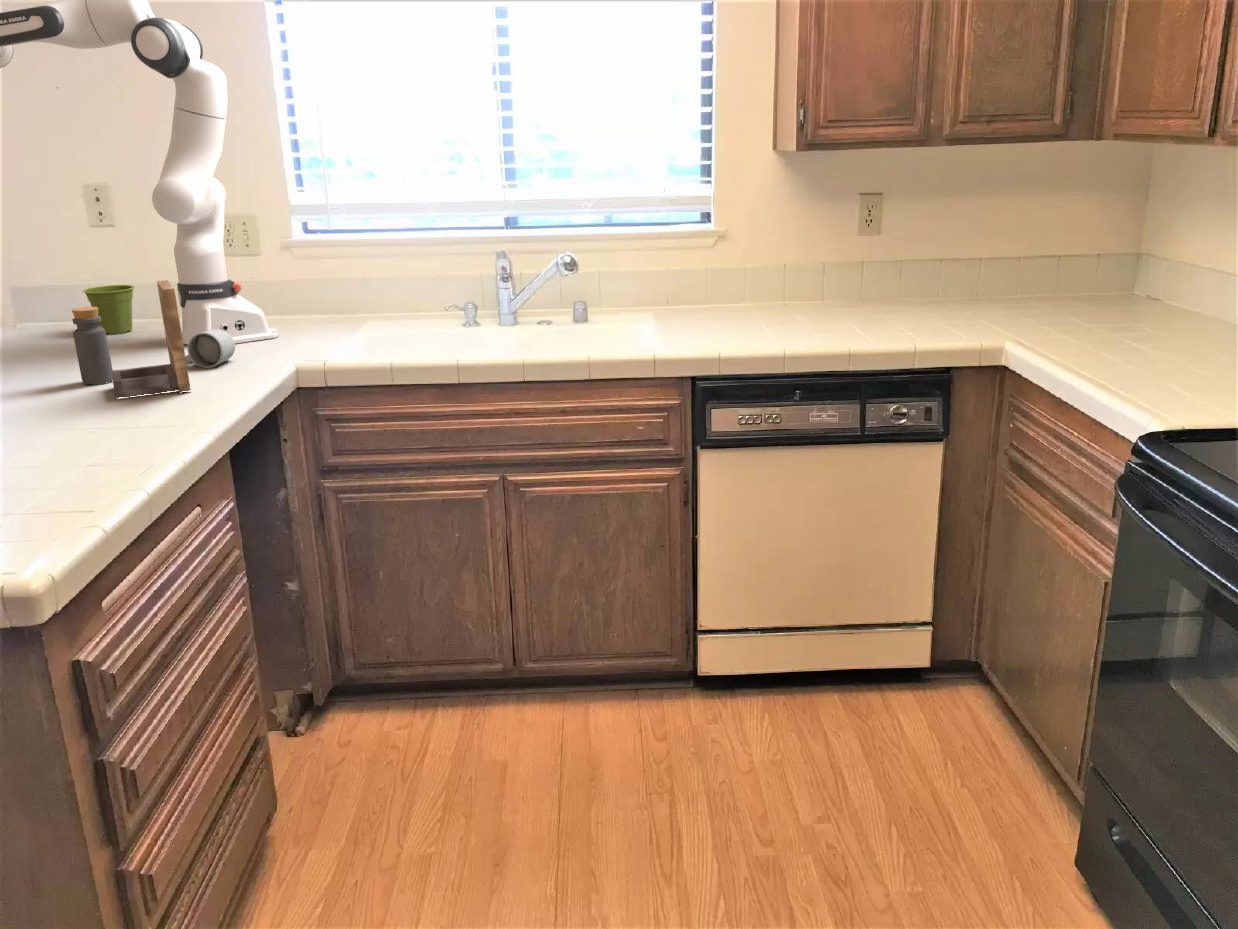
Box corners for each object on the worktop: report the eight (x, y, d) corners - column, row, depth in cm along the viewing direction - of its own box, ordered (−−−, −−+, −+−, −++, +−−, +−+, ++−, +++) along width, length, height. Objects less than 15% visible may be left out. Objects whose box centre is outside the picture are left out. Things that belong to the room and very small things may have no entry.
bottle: (89, 379, 207) (75, 306, 202) (119, 378, 208) (105, 305, 203) (77, 386, 202) (63, 311, 197) (107, 384, 202) (94, 310, 197)
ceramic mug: (239, 359, 222) (234, 325, 220) (224, 367, 215) (218, 332, 212) (193, 361, 223) (187, 326, 221) (176, 369, 215) (169, 333, 213)
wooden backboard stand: (183, 377, 206) (167, 280, 200) (190, 392, 195) (174, 288, 188) (113, 386, 201) (95, 285, 194) (117, 401, 189) (97, 295, 183)
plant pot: (81, 334, 256) (73, 289, 253) (126, 326, 266) (118, 283, 262) (107, 338, 250) (98, 293, 246) (151, 330, 259) (143, 286, 256)
